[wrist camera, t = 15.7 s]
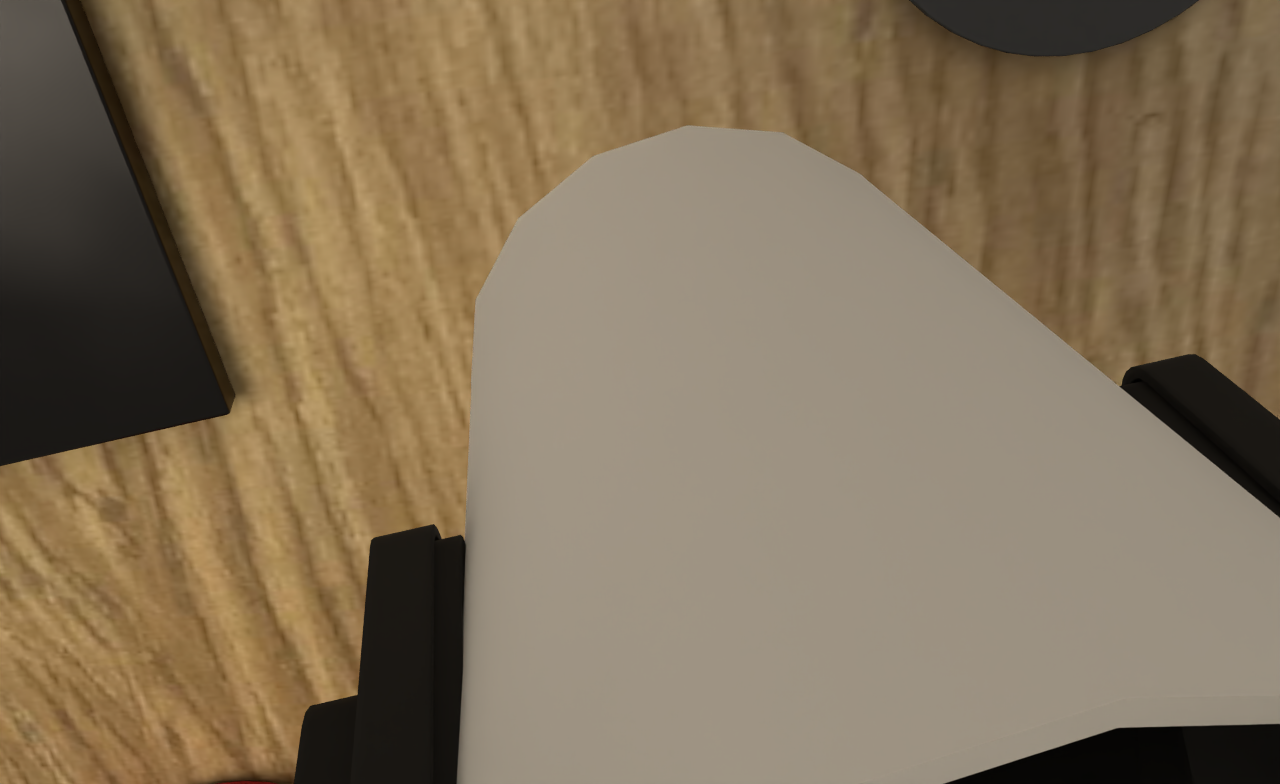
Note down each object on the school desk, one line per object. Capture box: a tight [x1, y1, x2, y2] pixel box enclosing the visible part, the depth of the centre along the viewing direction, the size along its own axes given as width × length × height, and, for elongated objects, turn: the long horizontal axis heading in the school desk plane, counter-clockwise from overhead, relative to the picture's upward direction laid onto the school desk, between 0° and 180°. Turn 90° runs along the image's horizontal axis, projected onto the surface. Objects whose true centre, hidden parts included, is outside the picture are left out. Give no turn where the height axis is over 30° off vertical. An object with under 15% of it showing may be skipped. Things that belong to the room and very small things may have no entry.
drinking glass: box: [457, 125, 1280, 784], centre depth 11 cm, size 7×7×10 cm
